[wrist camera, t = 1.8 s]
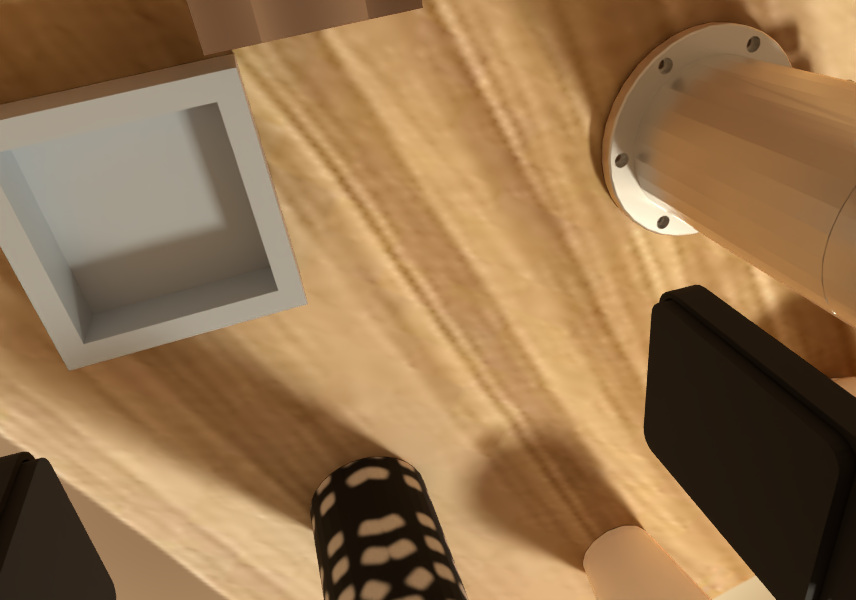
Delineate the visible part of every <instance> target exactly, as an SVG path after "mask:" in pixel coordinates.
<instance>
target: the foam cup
mask: <svg viewBox="0 0 856 600" xmlns="http://www.w3.org/2000/svg"><path fill="white" fill-rule="evenodd" d="M583 566H584V569H585V572H586V575H587V577H588V579H589V582H590V584H591V587H592V589H593V592H594V594H595V597H596V599H597V600H711V599H710V598H709V597H708V595H707V594H706V593H705V592H704V591H703V590H702V589H701V588H700V587H699V586H698V585H697V584H696V583H695V582H694V581H693V580H692V579H691V578H690V577H689V575H688V574H687V573H686V572H685V571H684V570H683V569H682V568H681V567H680V566H679V565H678V564H677V563H676V562H675V561H674V560H673V559H672V558H671V557H670V555H669V554H668V553H667V552H666V551H665V550H664V549H663V548H662V547H661V546H660V545H659V544H658V543H657V542H656V541H655V540H654V539H653V538H652V537H651V536H650V535H648V533H647V532H646V531H645V530H643V529H642V528H640V527H638V526H621V527H618V528H615V529H612V530H610V531H607V532H606V533H604V534H603V535H602V536H600V537H599V538H598V539H596V540H595V541H594V542H593V543H592V544H591V546H590V547H589V549H588V550H587V551H586V553H585V556H584V561H583Z"/></svg>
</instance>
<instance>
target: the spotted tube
mask: <svg viewBox="0 0 856 600" xmlns="http://www.w3.org/2000/svg"><path fill="white" fill-rule="evenodd" d="M310 512H311V521H312V528H313V534H314V540H315V546H316V553H317V559H318V565H319V571H320V578H321V584H322V590H323V596H324V600H468V597H467V594H466V592H465V589H464V586H463V584H462V581H461V578H460V576H459V573H458V570H457V568H456V565H455V562H454V560H453V557H452V555H451V552H450V549H449V547H448V544H447V541H446V539H445V536H444V533H443V531H442V528H441V525H440V523H439V520H438V517H437V515H436V512H435V509H434V507H433V504H432V501H431V499H430V496H429V494H428V491H427V488H426V486H425V483H424V480H423V479H422V477H421V475H420V473H419V472H418V471H417V470H416V469H415V468H414V467H413V466H411V465H410V464H408V463H406V462H404V461H401V460H399V459H395V458H389V457H371V458H365V459H361V460H358V461H354V462H351V463H349V464H347V465H345V466H343V467H341V468H339V469H338V470H336V471H335V472H333V473H332V474H330V475H329V476H328V477H327V478H326V479H325V480H324V481H323V482H322V483H321V485H320V486H319V488H318V489H317V490H316V492H315V494H314V497H313V499H312V503H311V507H310Z"/></svg>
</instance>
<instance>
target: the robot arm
mask: <svg viewBox="0 0 856 600" xmlns="http://www.w3.org/2000/svg"><path fill="white" fill-rule="evenodd" d="M659 63H660V64H659ZM602 167H603V173H604V178H605V183H606V185H607V188H608V190H609V193H610V195H611V198H612V199H613V201H614V202H615V203H616V205H617V206H618V208H619V209H620V210H621V211H622V212H623V213H624V214H625V215H626V216H627V217H629V218H630V219H631V220H632V221H633V222H635V223H637V224H638V225H640V226H641V227H643V228H644V229H646V230H649V231H651V232H654V233H657V234H661V235H670V236H682V235H692V234H696V233H699V232H700V233H702V234H703V235H705V236H706V237H708V238H710V239H711V240H713V241H714V242H716V243H718V244H719V245H721V246H722V247H724V248H726V249H727V250H729V251H731V252H732V253H734V254H735V255H737V256H739V257H740V258H742V259H743V260H745V261H747V262H748V263H750V264H751V265H753V266H755V267H756V268H758V269H760V270H761V271H763V272H764V273H766V274H768V275H769V276H771V277H772V278H774V279H776V280H777V281H779V282H780V283H782V284H784V285H785V286H787V287H788V288H790V289H792V290H793V291H795V292H797V293H798V294H800V295H801V296H803V297H805V298H806V299H808V300H809V301H811V302H813V303H814V304H816V305H817V306H819V307H821V308H822V309H824V310H825V311H827V312H829V313H830V314H832V315H834V316H835V317H837V318H838V319H840V320H842V321H843V322H845V323H846V324H848V325H850V326H852V327H853V328H855V329H856V83H855V82H854V81H852V80H843V79H838V78H834V77H830V76H826V75H821V74H817V73H813V72H809V71H804V70H800V69H796V68H793V67H792V65H791V63H790V61H789V58H788V56H787V54H786V53H785V52H784V50H783V49H782V48H781V47H780V45H779V44H778V43H777V42H776V41H775V40H774V39H773V38H771V37H770V36H769V35H767V34H766V33H765V32H763V31H761V30H758V29H755V28H753V27H750V26H748V25H743V24H737V23H731V22H711V23H706V24H702V25H698V26H694V27H691V28H689V29H686V30H684V31H682V32H680V33H678V34H676V35H673V36H672V37H670V38H669V39H667V40H666V41H665V42H663V43H662V44H660V45H659V46H657V47H656V48H655V49H654V50H653V51H652V52H650V53H649V54H648V55H647V56H646V57H645V58H644V59H643V60H642V61H641V62H640V63H639V64H638V65H637V67H636V68H635V69H634V71H633V72H632V73H631V75H630V76H629V77H628V79H627V80H626V81H625V83H624V84H623V86H622V88H621V90H620V92H619V94H618V96H617V97H616V99H615V101H614V103H613V106H612V109H611V111H610V114H609V117H608V120H607V122H606V127H605V132H604V137H603V143H602ZM644 435H645V439H646V442H647V444H648V446H649V448H650V449H651V451H652V452H653V453H654V454H655V456H656V457H657V458H658V459H659V460H660V462H661V463H662V464H663V465H664V466H665V468H666V469H667V470H668V471H669V472H670V474H671V475H672V476H673V477H674V478H675V479H676V481H677V482H678V483H679V484H680V485H681V487H682V488H683V489H684V490H685V491H686V493H687V494H688V495H689V496H690V497H691V499H692V500H693V501H694V502H695V503H696V505H697V506H698V507H699V508H700V509H701V510H702V512H703V513H704V514H705V515H706V516H707V518H708V519H709V520H710V521H711V522H712V524H713V525H714V526H715V527H716V528H717V530H718V531H719V532H720V533H721V534H722V535H723V537H724V538H725V539H726V540H727V541H728V543H729V544H730V545H731V546H732V547H733V549H734V550H735V551H736V552H737V553H738V555H739V556H740V557H741V558H742V559H743V561H744V562H745V563H746V564H747V565H748V566H749V568H750V569H751V570H752V571H753V572H754V574H755V575H756V576H757V577H758V578H759V580H760V581H761V582H762V583H763V584H764V585H765V587H766V588H767V589H768V590H769V591H770V593H771V594H772V595H773V596H774V597H775V599H776V600H856V397H855V396H853V395H852V394H850V393H849V392H848V391H846V390H845V389H844V388H842V387H841V386H839V385H838V384H837V383H835V382H834V381H833V380H831V379H830V378H828V377H827V376H826V375H824V374H823V373H822V372H820V371H819V370H817V369H816V368H815V367H813V366H812V365H811V364H809V363H808V362H806V361H805V360H804V359H802V358H801V357H800V356H798V355H797V354H795V353H794V352H793V351H791V350H790V349H789V348H787V347H786V346H784V345H783V344H782V343H780V342H779V341H778V340H776V339H775V338H773V337H772V336H771V335H769V334H768V333H767V332H765V331H764V330H762V329H761V328H760V327H758V326H757V325H756V324H754V323H753V322H751V321H750V320H749V319H747V318H746V317H745V316H743V315H742V314H740V313H739V312H738V311H736V310H735V309H734V308H732V307H731V306H729V305H728V304H727V303H725V302H724V301H723V300H721V299H720V298H718V297H717V296H716V295H714V294H713V293H712V292H710V291H709V290H707V289H706V288H705V287H703V286H701V285H693V286H689V287H685V288H681V289H676V290H672V291H668V292H665V293H664V294H662V296H661V298H660V301H659V303H657V304H655V305H654V307H653V308H652V315H651V329H650V344H649V358H648V373H647V387H646V402H645V417H644ZM0 600H116V593H115V588H114V584H113V582H112V580H111V578H110V576H109V574H108V572H107V570H106V568H105V566H104V564H103V562H102V561H101V559H100V557H99V555H98V553H97V551H96V549H95V547H94V545H93V543H92V541H91V540H90V538H89V536H88V534H87V532H86V530H85V528H84V526H83V524H82V522H81V521H80V519H79V517H78V515H77V513H76V511H75V509H74V507H73V505H72V503H71V502H70V500H69V498H68V496H67V494H66V492H65V490H64V488H63V486H62V484H61V483H60V481H59V479H58V477H57V475H56V473H55V471H54V469H53V467H52V465H51V464H50V462H49V461H48V460H47V459H46V458H39V459H35V458H34V457H33V455H31V454H30V453H29V452H20V453H16V454H12V455H8V456H4V457H0Z"/></svg>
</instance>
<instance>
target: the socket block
mask: <svg viewBox="0 0 856 600" xmlns="http://www.w3.org/2000/svg"><path fill="white" fill-rule="evenodd" d="M186 1H187V4H188V7H189V10H190V13H191V17H192V20H193V23H194V26H195V29H196V32H197V35H198V38H199V41H200V44H201V47H202V51H203V54H204V56H205V55H210V54H214V53H219V52H223V51H228V50H232V49H237V48H241V47H246V46H250V45H255V44H260V43H264V42H269V41H273V40H278V39H282V38H287V37H291V36H296V35H301V34H305V33H310V32H314V31H319V30H323V29H328V28H332V27H337V26H342V25H346V24H351V23H355V22H360V21H364V20H369V19H373V18H378V17H383V16H387V15H392V14H396V13H401V12H405V11H410V10H414V9H419V8H423V6H422V0H186Z"/></svg>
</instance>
